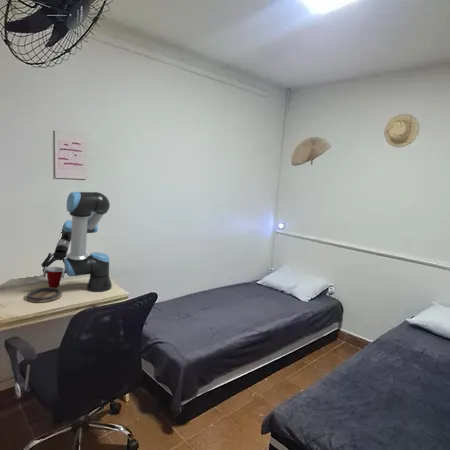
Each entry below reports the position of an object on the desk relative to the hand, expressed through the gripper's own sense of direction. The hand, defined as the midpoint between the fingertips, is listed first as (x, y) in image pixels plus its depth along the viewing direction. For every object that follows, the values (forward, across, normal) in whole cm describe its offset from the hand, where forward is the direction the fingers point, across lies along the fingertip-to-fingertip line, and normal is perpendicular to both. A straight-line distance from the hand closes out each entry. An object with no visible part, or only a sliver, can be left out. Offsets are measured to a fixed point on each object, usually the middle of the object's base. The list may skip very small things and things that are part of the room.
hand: (53, 276), depth 211 cm
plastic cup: (+3, 0, -8) cm, 8 cm away
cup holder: (+16, -1, +6) cm, 17 cm away
